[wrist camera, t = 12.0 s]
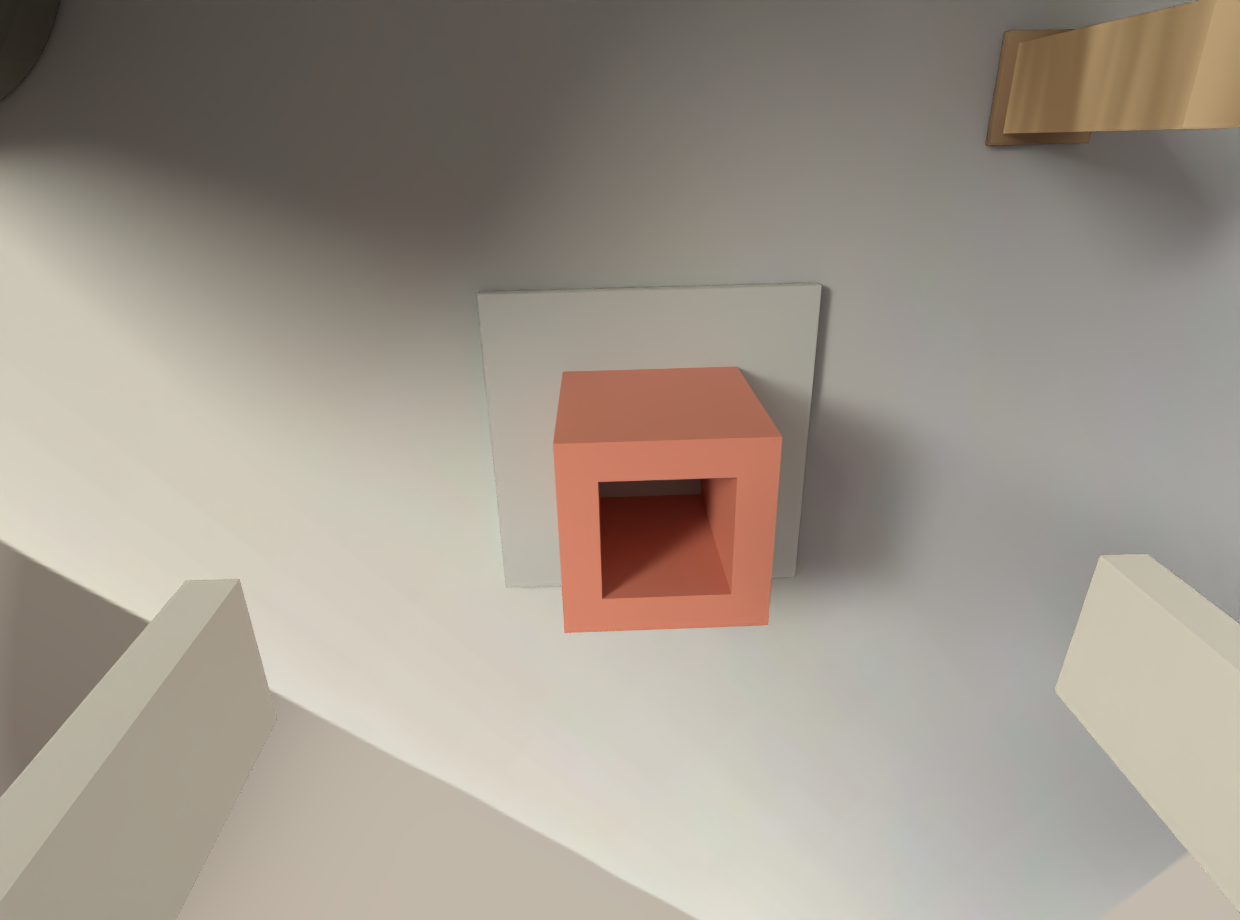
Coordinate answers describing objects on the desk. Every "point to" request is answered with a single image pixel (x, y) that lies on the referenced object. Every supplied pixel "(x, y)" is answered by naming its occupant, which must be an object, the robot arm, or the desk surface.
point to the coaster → (627, 340)
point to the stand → (1120, 76)
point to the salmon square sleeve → (665, 499)
